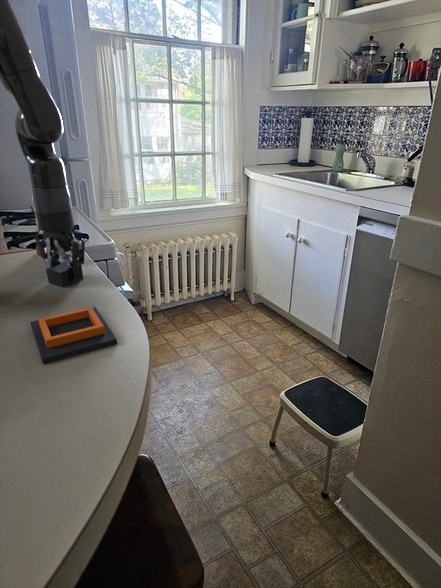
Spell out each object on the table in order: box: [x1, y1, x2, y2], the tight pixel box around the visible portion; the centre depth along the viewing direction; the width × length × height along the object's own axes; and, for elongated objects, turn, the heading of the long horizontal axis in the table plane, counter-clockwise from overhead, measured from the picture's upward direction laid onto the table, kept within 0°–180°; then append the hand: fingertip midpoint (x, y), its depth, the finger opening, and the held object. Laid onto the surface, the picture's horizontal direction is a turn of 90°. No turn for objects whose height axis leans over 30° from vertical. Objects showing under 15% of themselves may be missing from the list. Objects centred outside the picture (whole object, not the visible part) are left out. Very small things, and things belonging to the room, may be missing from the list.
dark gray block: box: [45, 261, 84, 288], centre depth 92 cm, size 6×5×4 cm
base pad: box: [30, 306, 118, 365], centre depth 70 cm, size 12×14×2 cm
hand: (66, 278), depth 92 cm, fingers closed on dark gray block, 5 cm apart
